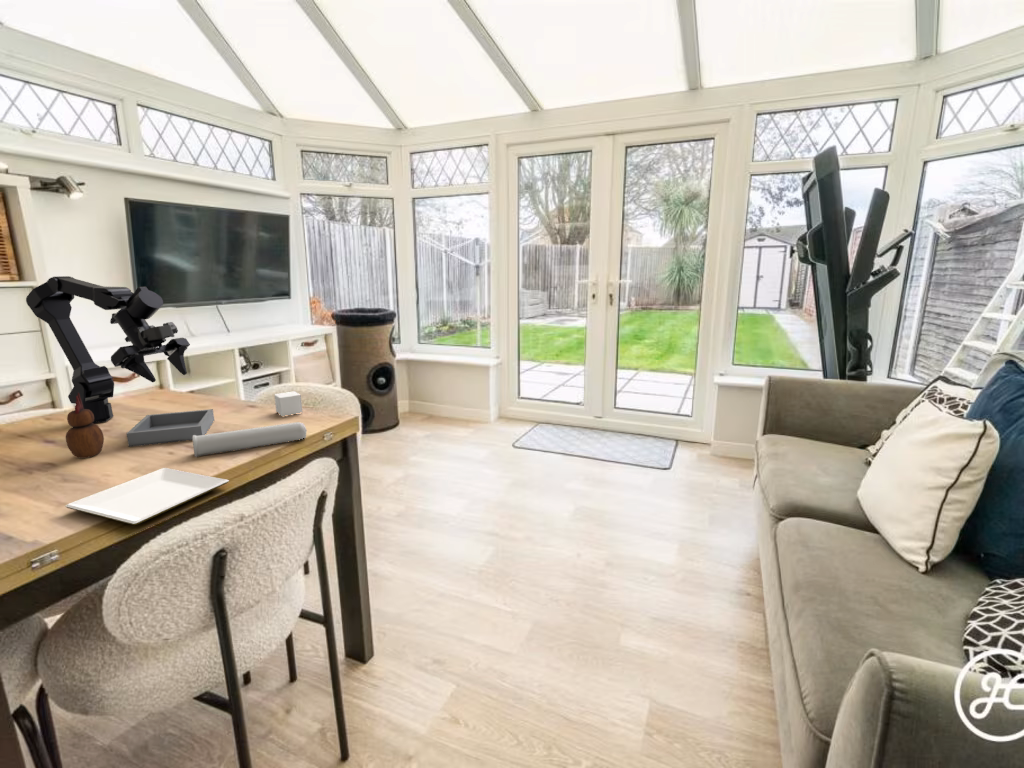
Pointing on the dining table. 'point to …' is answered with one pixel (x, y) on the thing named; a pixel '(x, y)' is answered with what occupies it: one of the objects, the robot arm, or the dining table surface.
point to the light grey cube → (288, 403)
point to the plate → (147, 495)
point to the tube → (247, 438)
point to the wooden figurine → (83, 432)
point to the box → (170, 427)
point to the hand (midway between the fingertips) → (170, 377)
